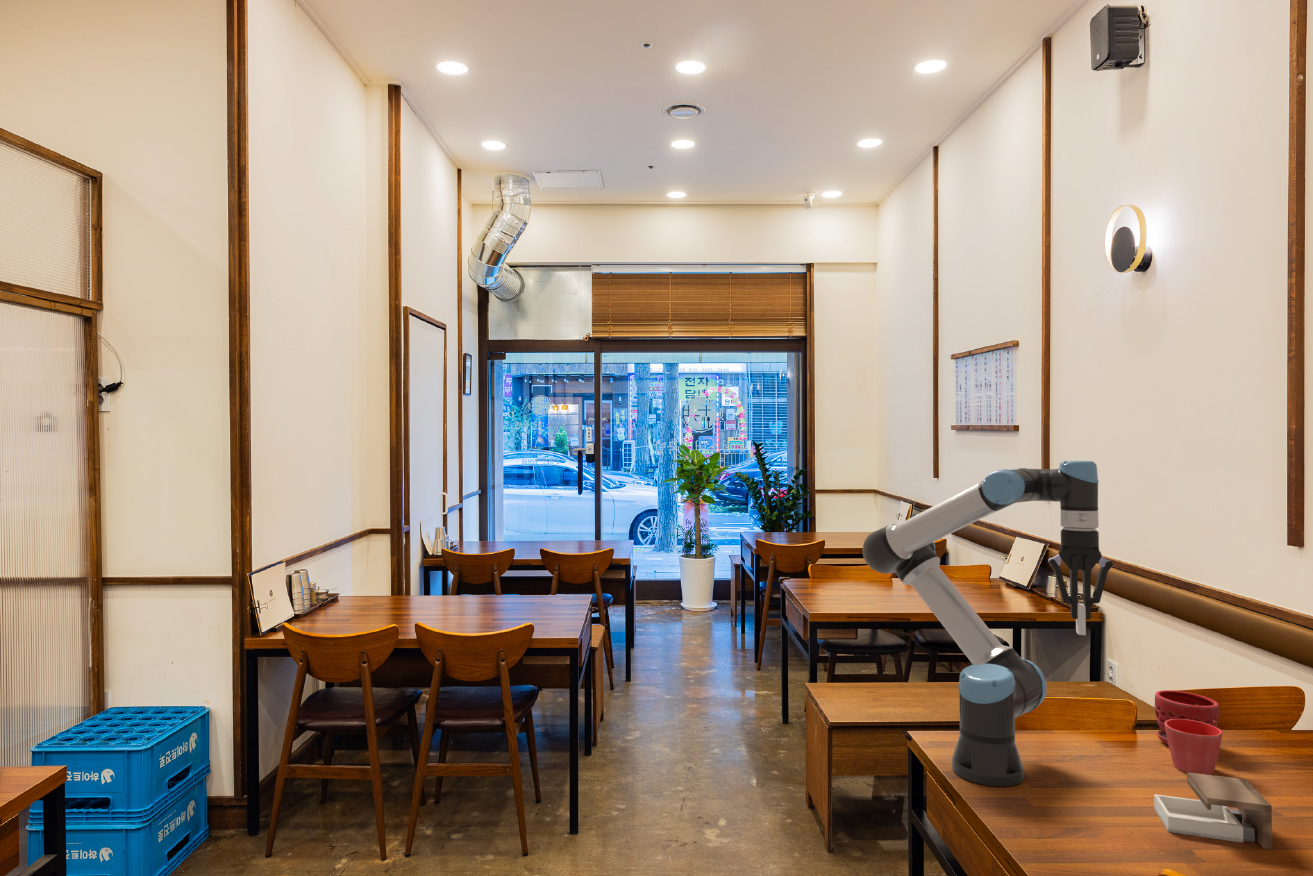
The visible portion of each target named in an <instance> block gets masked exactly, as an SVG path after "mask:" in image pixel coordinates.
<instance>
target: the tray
mask: <svg viewBox="0 0 1313 876" xmlns="http://www.w3.org/2000/svg"><path fill="white" fill-rule="evenodd" d="M1153 796H1154V798H1153V801H1154V802H1153V803H1154V804H1153V805H1154V811H1155V812H1156V814H1157V815H1158V817H1159V819H1160V821H1161V822H1162V824H1163V825H1164V828H1165V829H1166V831H1167V832H1168V833H1174V834H1180V835H1187V836H1194V837H1201V838H1209V839H1215V840H1220V841H1221V840H1222V841H1229V842H1235V843H1236V842H1237V843H1243V844H1244V841H1243V826H1242V825H1241V824H1240V822H1239V821H1238V820H1237V819H1236V817H1235V816H1234V815H1233V814H1232V812H1231V811H1230V810H1229V809H1230V808H1229V807H1226V806H1219V805H1211V810H1208V809H1207V808H1206V807H1205V806H1204V804H1203V803H1202V802H1201V800H1200V799H1194V798H1193V799H1192V798H1186V797H1178V796H1171V795H1163V794H1155V793H1154V794H1153Z"/></svg>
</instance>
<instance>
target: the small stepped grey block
mask: <svg viewBox="0 0 1313 876" xmlns="http://www.w3.org/2000/svg"><path fill="white" fill-rule="evenodd" d="M1228 809H1229V810H1230V811H1231V812H1232V814H1233V815H1234V816H1235V817H1236V819H1237V820H1238V821H1239V822H1240V824H1241V825H1242V826H1243V842H1249V843H1256V839H1255V829H1254V828H1253V827H1252V825H1251V824H1246V823H1242V814H1241V813H1240V811H1239V810H1238V809H1235V808H1234V809H1233V808H1228Z"/></svg>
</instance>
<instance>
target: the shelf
mask: <svg viewBox="0 0 1313 876" xmlns="http://www.w3.org/2000/svg"><path fill="white" fill-rule="evenodd" d="M1186 783H1187V785H1188V786H1189V787H1190V789H1191V790H1192V791H1193V793H1194V794H1195V795H1196V797H1197V798H1198V800H1201V802H1202V803H1203V804H1204V806H1205V807H1206V808H1207V809H1208V810H1211V805H1219V806H1226V807H1227V808H1234V809H1235V808H1236V809H1237V810H1239V811H1240V813H1241V814H1242V823H1246V824H1251V825H1252V827H1253V828H1254V829H1255V841H1256V842H1257V843H1258V844H1259V845H1260V846H1261V847H1262V849H1267V850H1273V817H1272V816H1273V813H1272V811H1273V810H1272V805H1271V803H1270V802H1268V800H1267V799H1265V797H1264V796H1263V795H1261V793H1260V792H1259V791H1258V790H1257V789H1256V788H1255V787H1254V786H1253V785H1252V784H1251V782H1249V781H1248V780H1247V779H1246V778H1240V777H1239V778H1238V777H1229V776H1222V775H1214V774H1212V775H1206V774H1197V773H1189V772H1187V773H1186Z"/></svg>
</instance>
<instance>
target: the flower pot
mask: <svg viewBox="0 0 1313 876" xmlns="http://www.w3.org/2000/svg"><path fill="white" fill-rule="evenodd" d="M1165 730H1166V735H1167V740H1168V744H1169V745H1168V748H1169V752H1170V756H1171V761H1172V765H1173V766H1174V768H1176V769H1177V770H1179V771H1180V772H1184V773H1186V774H1187V772H1189V773H1197V774H1206V775H1214V773H1215V770H1216V766H1217V761H1218V758H1219V755H1220V753H1219V752H1220V749H1221V744H1222V741H1223V740H1222V739H1223V731H1222V730H1221V729H1220V728H1219V727H1214V726H1212V725H1209V724H1206V723H1203V722H1199V721H1194V720H1188V719H1170V720H1167V721H1165Z"/></svg>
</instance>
